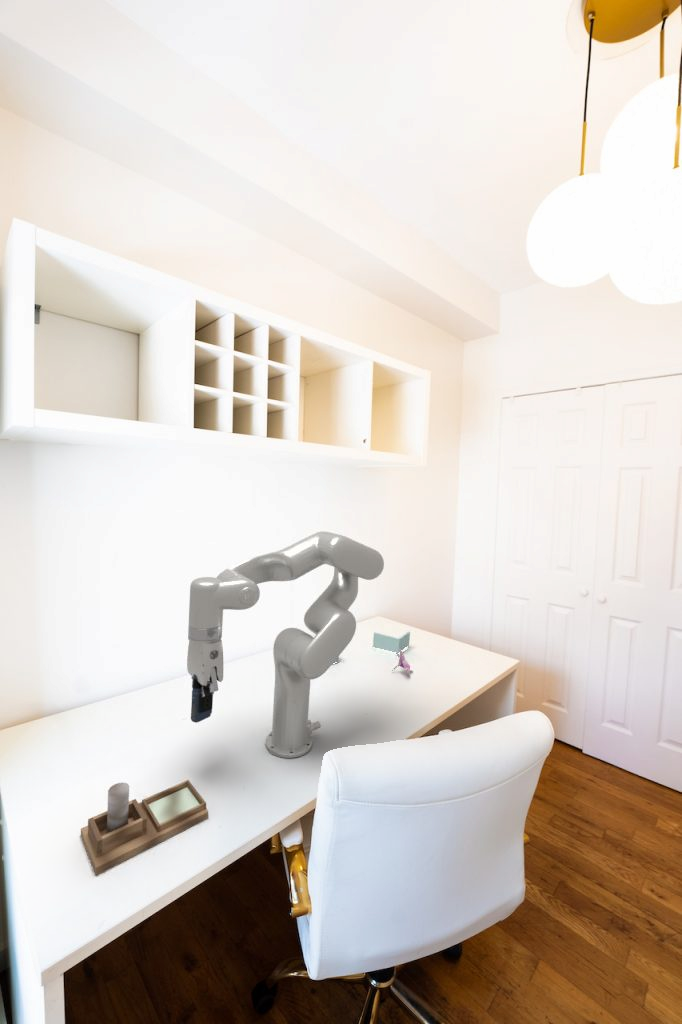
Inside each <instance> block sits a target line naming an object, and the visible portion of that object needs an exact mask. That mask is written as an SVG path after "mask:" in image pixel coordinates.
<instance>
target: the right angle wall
mask: <svg viewBox="0 0 682 1024" xmlns="http://www.w3.org/2000/svg"><path fill="white" fill-rule="evenodd" d="M410 636H411V632H410V631H407V632H405V633H404V634H402V635H401V636H399V637H395V636H391V635H387V634H384V633H379V632H377V631H375V632H373V640H372V642H373V643H372V648H373V647H375V648H380V649H384V650H388V651H392V652H396V653H399V648H400V649H401V650H403V649H404V648H405V647H407V646H408V645H409V646H410ZM398 646H399V648H398Z"/></svg>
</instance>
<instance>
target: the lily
mask: <svg viewBox="0 0 682 1024" xmlns="http://www.w3.org/2000/svg"><path fill="white" fill-rule="evenodd" d="M398 648H399V646H398ZM399 652H400V656H399V654H398V653H396V654H397V656H398V663H397V665H396V666H395V667H394V668H393V669H394V670H395V669H396V668H397V667H401V668H403V669H404V671H406V672H407V673H408V672H409V673H410V672H411V671H410V667H411V665H410V663H408V662H409V661H408V660H407V659H406V657H405V655H403V654H404V653H402V651H401V649H400V648H399ZM397 656H396V657H397Z"/></svg>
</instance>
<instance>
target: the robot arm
mask: <svg viewBox="0 0 682 1024" xmlns="http://www.w3.org/2000/svg"><path fill="white" fill-rule="evenodd" d="M324 565H328V566H331V567H334V568H333V571H334V572H333V577H332V580H331V582H330V583H329V585H328V586H327V587H326V589H325V590H324V591H323V592H322V593H321V594H320V595H319V596H318V598H316V599H315V600H314V602H313V603H312V604H311V605H310V606H309V608H308V609H307V610H306V612H305V613H304V615H303V616H304V618H303V622H304V625H305V627H306V628H307V629H308V630H309V631H310V632H312V633H313V634H315V636H314V637H313V636H312V635H311V634H309V633H307V632H306V631H304V630H302V629H299V628H297V627H288V628H285V629H282V630H281V631H279V633H278V634H277V635H276V638H275V640H274V643H273V660H274V661H273V662H274V691H273V708H272V709H273V710H272V726H271V727H272V728H271V731H270V733H268V735H267V736H266V738H265V748H266V749H267V751H268V752H269V753H271V754H272V755H274V756H276V757H279V758H283V759H284V758H285V759H287V758H288V759H292V758H293V759H294V758H298V757H301V756H304V755H305V754H307V753H308V752H310V750H311V748H312V747H313V738H312V736H311V734H312V733H313V731H317V730H319V729H320V728H321V721H320V720H316V721H315V722H312V721H311V719H309V711H310V710H309V709H310V707H309V706H310V695H311V694H310V693H311V692H310V691H311V680H315V679H318V678H319V677H322V675H324V674H325V673H326V672H327V671H328V670H329V669H330V667H331V666H333V665H332V664H333V662H334V661H335V660H336V659H337V658H338V656H339V657H340V655H341V654H342V653H343V652H344V650H345V649H346V648H347V647H348V645H349V644H350V643H351V641H353V638H354V636H355V633H356V629H357V622H356V621H357V619H356V617H355V615H354V614H353V612H351V611H350V610H349V609H350V607H351V606H352V605H353V603H354V602H355V601H356V599H357V597H358V592H359V579H364V580H367V581H371V580H375V579H376V578H378V577H380V575H381V574H382V572H383V570H384V567H385V566H384V565H385V562H384V558H383V555H382V554H381V553H380V552H379V551H378V550H376V549H375V548H372V547H370V546H367V545H365V544H363V543H362V542H361V543H360V542H358V541H356V540H354V539H352V538H349V537H347V536H345V535H342V534H337V533H335V532H334V533H333V532H329V531H318V532H315V533H313V534H312V535H309V536H306V537H305V538H303V539H301V540H299V541H297V542H295V543H293V544H291V545H289V546H286V547H285V548H282V549H279V550H278V551H272V552H269V553H265V554H262V555H259V556H255V557H249V558H248V559H245V560H241V561H240V562H238V563H236V564H234V565H232V566H230V567H228V568H225V569H224V570H223V571H222V572H220V573H219V574H218V575H217V576H216V577H212V576H204V577H203V576H202V577H197V578H195V579H193V580H192V581H191V583H190V587H189V606H188V607H189V608H188V609H189V610H188V631H187V634H188V637H187V640H188V649H187V659H186V660H187V661H186V663H187V664H186V667H187V669H186V670H187V672H188V674H189V675H190V676H191V681H192V682H191V689H193V675H195V676H196V677H197V679H196V680H197V681H198V682H199V683H200V684H201V696H199V705H198V712H199V713H203V712H206V711H209V710H211V709H212V710H213V702H214V699H213V698H214V693H215V692H218V691H219V685H218V682H223V681H224V649H223V641H222V638H223V624H224V623H223V620H224V618H223V617H224V610H229V611H230V610H234V611H242V610H247V609H248V610H249V609H250V608H252V607H254V606H256V604H257V603H258V601H259V600H260V595H261V592H260V587H259V586H258V585H259V584H263V583H268V582H290V581H295V580H297V579H299V578H300V577H302V576H304V575H306V574H308V573H310V572H312V571H314V570H315V569H317V568H319V567H321V566H324ZM207 685H210V687H207V688H206V689H205V686H207Z"/></svg>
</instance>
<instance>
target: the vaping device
mask: <svg viewBox="0 0 682 1024" xmlns="http://www.w3.org/2000/svg"><path fill="white" fill-rule="evenodd" d="M196 679H197V677H196V676H195V675H193V688H192V690H191V707H190V720H191V722H193V723H196V724H197V723H199V722H202V721H204V720H206V719H208V718H210V717H211V715H212V713H213V708H212V709H211V710H209V711H206V712H203V713H199V712H198V705H199V696H201V684H200V683H199V682H198V681H197V680H196ZM207 687H210V685H207V686H205V689H206V688H207Z"/></svg>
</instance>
